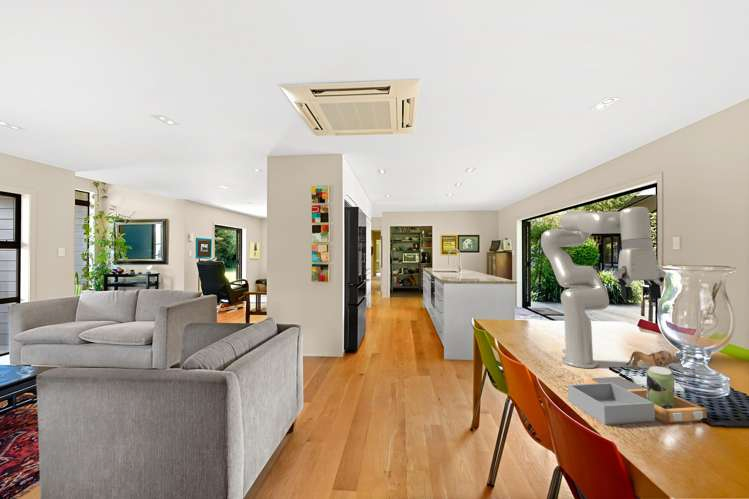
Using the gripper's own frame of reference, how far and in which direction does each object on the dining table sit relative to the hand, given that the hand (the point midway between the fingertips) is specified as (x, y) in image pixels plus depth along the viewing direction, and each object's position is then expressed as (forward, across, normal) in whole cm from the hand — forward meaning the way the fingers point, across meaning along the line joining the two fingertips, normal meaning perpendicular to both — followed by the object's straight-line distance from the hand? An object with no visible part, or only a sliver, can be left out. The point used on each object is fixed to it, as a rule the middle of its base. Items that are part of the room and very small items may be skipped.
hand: (641, 298), depth 101 cm
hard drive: (+32, -13, -10) cm, 36 cm away
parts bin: (+32, +18, +4) cm, 37 cm away
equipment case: (+31, +2, -1) cm, 31 cm away
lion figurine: (+31, -23, -22) cm, 44 cm away
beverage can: (+32, +2, +6) cm, 32 cm away
